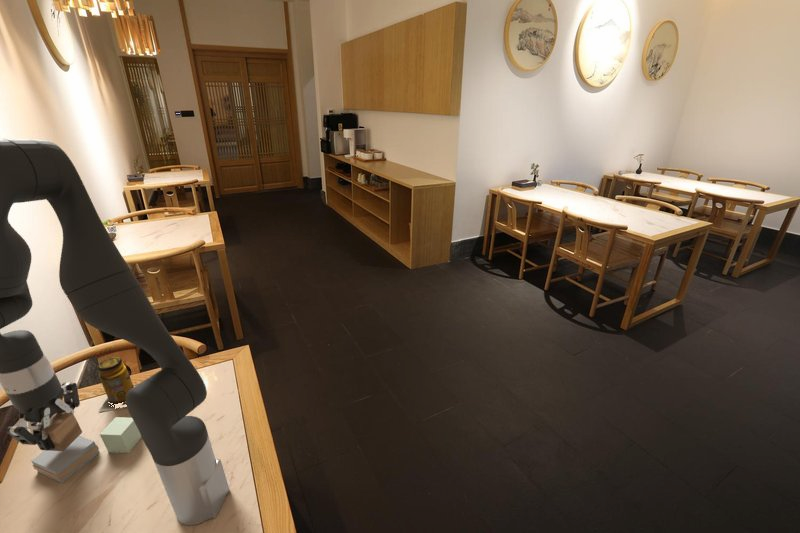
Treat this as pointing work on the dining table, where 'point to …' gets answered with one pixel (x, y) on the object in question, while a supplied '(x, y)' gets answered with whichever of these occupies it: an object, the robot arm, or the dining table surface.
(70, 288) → the robot arm
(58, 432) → the walnut block
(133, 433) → the sage block
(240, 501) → the dining table surface
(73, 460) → the slate base
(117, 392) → the condiment
